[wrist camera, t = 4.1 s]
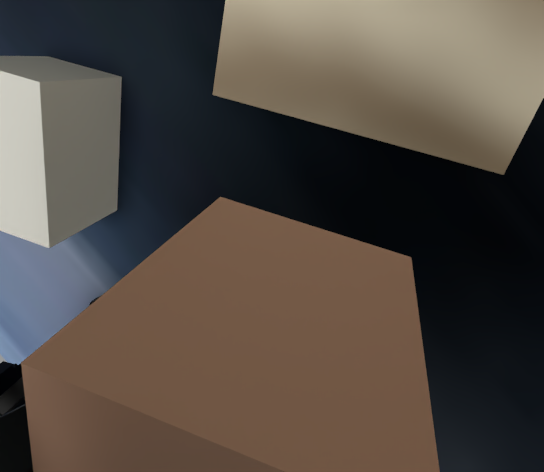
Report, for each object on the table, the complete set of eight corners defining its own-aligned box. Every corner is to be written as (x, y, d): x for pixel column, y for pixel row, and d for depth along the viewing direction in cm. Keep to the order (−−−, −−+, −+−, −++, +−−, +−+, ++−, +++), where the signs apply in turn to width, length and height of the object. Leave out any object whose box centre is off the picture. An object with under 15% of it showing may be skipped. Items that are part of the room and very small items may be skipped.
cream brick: (118, 209, 21) (49, 248, 17) (55, 188, 22) (-27, 221, 18) (122, 76, 18) (39, 82, 14) (49, 56, 19) (-53, 55, 14)
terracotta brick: (315, 469, 11) (265, 756, 6) (183, 416, 11) (53, 644, 7) (411, 257, 7) (448, 539, 3) (220, 197, 8) (20, 362, 4)
